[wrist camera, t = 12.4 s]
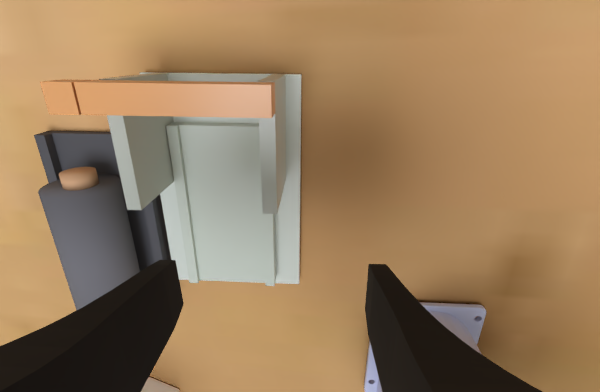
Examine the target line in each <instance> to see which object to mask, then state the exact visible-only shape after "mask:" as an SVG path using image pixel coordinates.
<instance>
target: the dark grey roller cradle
mask: <svg viewBox="0 0 600 392" xmlns="http://www.w3.org/2000/svg"><path fill="white" fill-rule="evenodd" d="M34 136H35V140H36V143H37V146H38V149H39V153H40V156H41V159H42V162H43V166H44V169H45V172H46V175H47V179H48V182H49V183H51V182H54V181H57V180H60V177H59V173H60V172H62V171H64V170H67V169H71V168H77V167H94V168H96V171H97V173H98V174H112V175H116V176H118V177H119V178H120V173H119V169H118V164H117V159H116V155H115V150H114V146H113V141H112V136H111V132H84V131H47V132H43V133H40V134H36V135H34ZM120 182H121V178H120ZM121 186H122V183H121ZM122 191H123V187H122ZM123 195H124V192H123ZM124 200H125V197H124ZM125 205H126V201H125ZM126 209H127V206H126ZM127 214H128V218H129V223H130V227H131V232H132V237H133V241H134V246H135V250H136V255H137V260H138V264H139V269H140V271H142V270H143V269H145V268H147V267H148V266H150V265H151V264H153V263H155V262H157V261H159V260H171V255H170V249H169V243H168V237H167V231H166V225H165V220H164V214H163V208H162V202H161V196H160V194H159V195H158V196H157V197H156V198H155V199H154V200H152V201H151V202H150V203H149V204H148V205H147V206H146V207H145V208H143V209H142V210H127Z"/></svg>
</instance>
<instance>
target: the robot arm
mask: <svg viewBox="0 0 600 392" xmlns="http://www.w3.org/2000/svg"><path fill="white" fill-rule="evenodd" d="M182 307H183V299H182V293H181V288H180V282H179V277H178V272H177V266H176V261H175V260H159V261H157V262H155V263H153V264H151V265H150V266H148V267H147V268H145V269H143V270H142V271H140V272H139V273H137V274H136V275H134V276H133V277H131V278H130V279H128V280H126V281H125V282H123V283H122V284H120V285H119V286H117V287H116V288H114V289H112V290H111V291H109V292H107V293H106V294H104V295H102V296H101V297H99V298H97V299H96V300H94V301H92V302H91V303H89V304H87V305H86V306H84V307H82V308H80V309H79V310H77V311H75V312H73V313H71V314H69V315H68V316H66V317H64V318H62V319H60V320H58V321H56V322H54V323H52V324H50V325H48V326H46V327H43V328H41V329H39V330H37V331H35V332H32V333H30V334H28V335H25V336H23V337H21V338H19V339H16V340H14V341H12V342H10V343H7V344H5V345H2V346H0V392H141V391H142V389H143V387H144V385H145V383H146V381H147V379H148V377H149V375H150V373H151V372H152V370H153V368H154V366H155V364H156V362H157V360H158V359H159V357H160V355H161V353H162V351H163V349H164V347H165V345H166V344H167V342H168V340H169V338H170V336H171V334H172V332H173V330H174V328H175V325H176V323H177V320H178V318H179V315H180V312H181V309H182ZM365 311H366V320H367V328H368V335H369V339H370V340H369V348H368V356H367V364H366V373H365V381H364V390H365V392H542V391H540V390H538V389H536V388H535V387H533V386H531V385H529V384H527V383H526V382H524V381H522V380H521V379H519V378H517V377H516V376H514V375H512V374H511V373H509V372H507V371H506V370H504V369H503V368H501V367H499V366H498V365H496V364H495V363H493V362H492V361H490V360H489V359H487V358H486V357H484V356H483V355H482V354H481V352H480V350H479V348H478V346H477V343H478V340H479V337H480V333H481V330H482V326H483V323H484V319H485V316H486V310H485V308H484V307H483V306H482V305H475V304H450V303H425V302H419V301H418V300H417V299H416V298H415V297H414V296H413V295H412V294H411V293H410V292H409V291H408V290H407V288H406V287H405V286H404V285H403V284H402V283H401V282H400V280H399V279H398V278H397V277H396V276H395V274H394V273H393V272H392V271H391V270H390V268H389V267H388V266H387V265H386V264H369V269H368V281H367V293H366V305H365ZM476 316H478V317H477V318H475V317H476Z"/></svg>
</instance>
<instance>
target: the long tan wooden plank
mask: <svg viewBox="0 0 600 392" xmlns="http://www.w3.org/2000/svg"><path fill="white" fill-rule="evenodd" d="M40 84H41V87H42V91H43V94H44V98H45V101H46V105H47V108H48V112H49V114H59V115H81V114H82V115H116V116H174V117H232V118H272V117H273V116H274V114H275V82H208V81H131V80H53V81H43V82H40Z"/></svg>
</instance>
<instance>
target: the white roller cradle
mask: <svg viewBox="0 0 600 392" xmlns="http://www.w3.org/2000/svg"><path fill="white" fill-rule="evenodd" d="M301 78H302V74H256V73H171V72H142V73H140V75H131V76H121V77H112V78H103V79H99V80H131V81H208V82H275V114H274V116H273V117H272V118H232V117H174V116H116V115H107V118H108V122H109V127H110V132H111V136H112V141H113V146H114V150H115V155H116V159H117V164H118V169H119V173H120V178H121V183H122V187H123V192H124V197H125V201H126V206H127V210H142V209H143V208H145V207H146V206H147V205H148V204H149V203H150V202H151V201H152V200H154V199H155V198H156V197H157V196H158V195H159V194H160V196H161V202H162V208H163V214H164V220H165V225H166V231H167V237H168V243H169V249H170V255H171V260H175V261H176V266H177V272H178V277H179V279H180V280H189V283H198V282H199V280H206V281H233V282H259V283H266V286H275V283H286V284H299V279H300V179H301Z"/></svg>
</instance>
